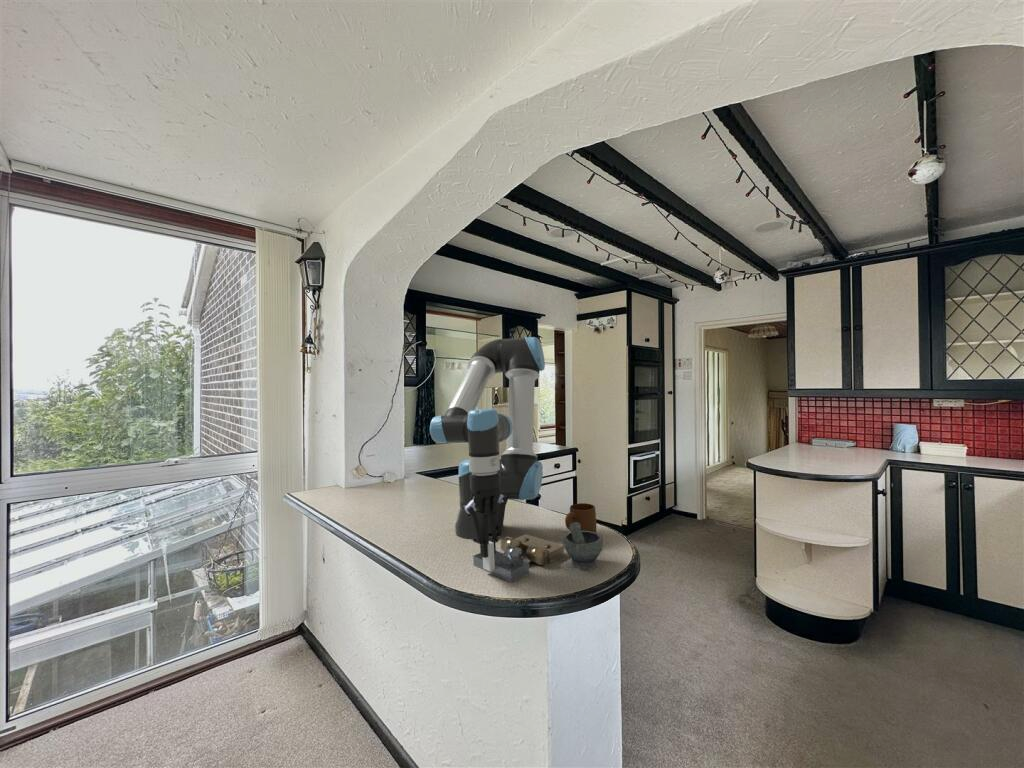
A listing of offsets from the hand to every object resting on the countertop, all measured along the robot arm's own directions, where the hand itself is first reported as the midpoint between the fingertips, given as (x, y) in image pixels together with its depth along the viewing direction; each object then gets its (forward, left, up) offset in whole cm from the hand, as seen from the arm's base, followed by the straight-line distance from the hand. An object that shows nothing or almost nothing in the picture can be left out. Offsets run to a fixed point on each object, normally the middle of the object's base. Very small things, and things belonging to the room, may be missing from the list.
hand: (488, 568), depth 100 cm
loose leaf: (0, +6, -1) cm, 6 cm away
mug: (+4, +32, -2) cm, 32 cm away
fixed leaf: (0, +15, -1) cm, 16 cm away
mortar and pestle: (+15, +19, -2) cm, 24 cm away
